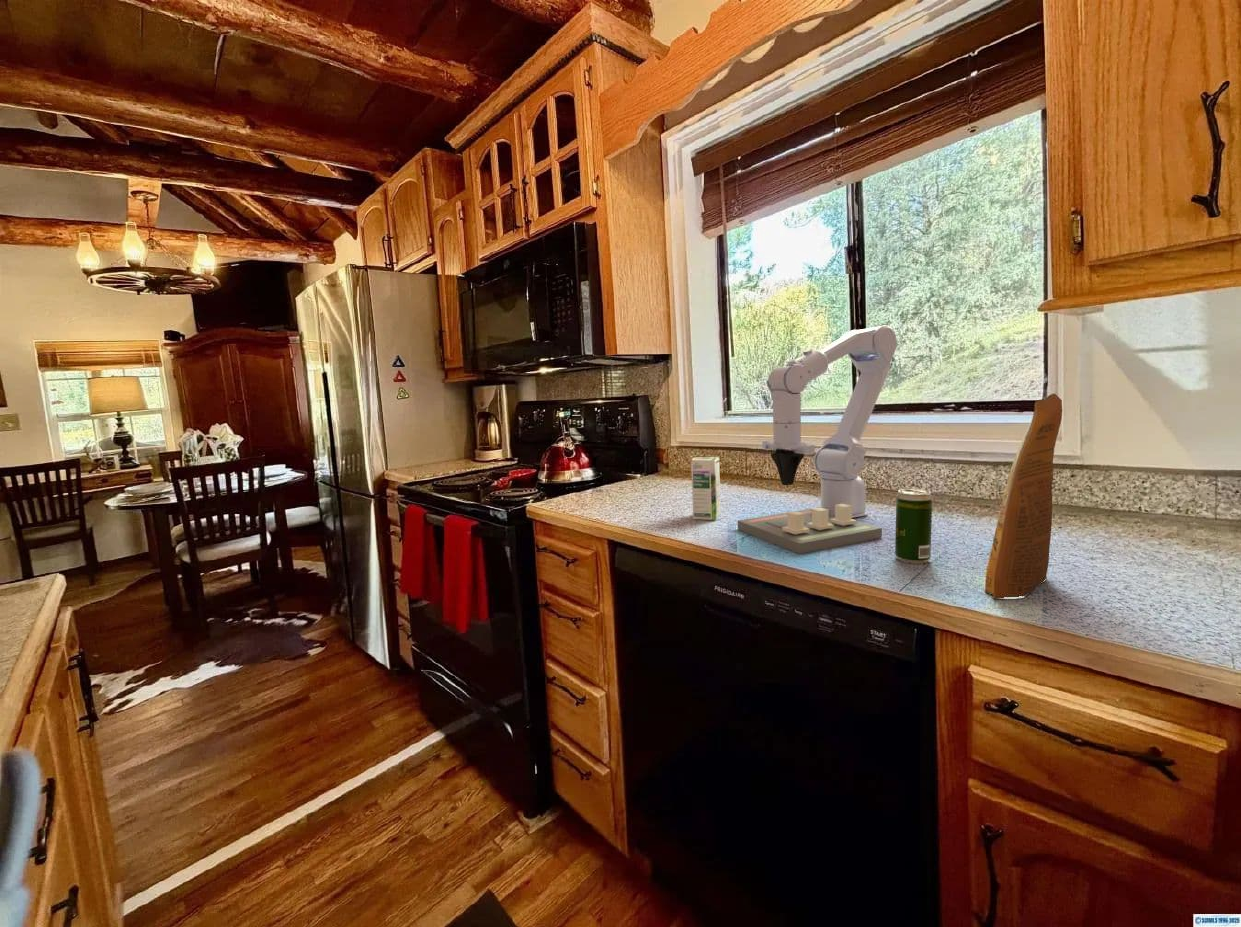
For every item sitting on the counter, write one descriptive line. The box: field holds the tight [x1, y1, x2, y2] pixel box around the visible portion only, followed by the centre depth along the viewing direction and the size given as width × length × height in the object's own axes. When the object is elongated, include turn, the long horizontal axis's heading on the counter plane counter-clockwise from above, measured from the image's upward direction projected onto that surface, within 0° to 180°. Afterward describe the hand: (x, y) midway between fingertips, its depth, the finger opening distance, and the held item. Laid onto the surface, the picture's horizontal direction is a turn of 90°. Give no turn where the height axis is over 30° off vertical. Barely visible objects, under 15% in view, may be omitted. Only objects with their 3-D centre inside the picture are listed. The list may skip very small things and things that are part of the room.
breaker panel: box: [737, 508, 883, 555], centre depth 112 cm, size 20×20×2 cm
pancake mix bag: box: [984, 393, 1063, 599], centre depth 77 cm, size 7×19×28 cm, turn 128°
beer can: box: [894, 488, 933, 565], centre depth 92 cm, size 5×5×12 cm
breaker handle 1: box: [782, 510, 809, 534], centre depth 105 cm, size 4×4×4 cm
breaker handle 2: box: [830, 504, 858, 526], centre depth 110 cm, size 4×4×4 cm
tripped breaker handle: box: [807, 507, 834, 530], centre depth 107 cm, size 4×4×4 cm
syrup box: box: [690, 456, 721, 521], centre depth 128 cm, size 6×6×14 cm
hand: (787, 484), depth 118 cm, fingers closed
